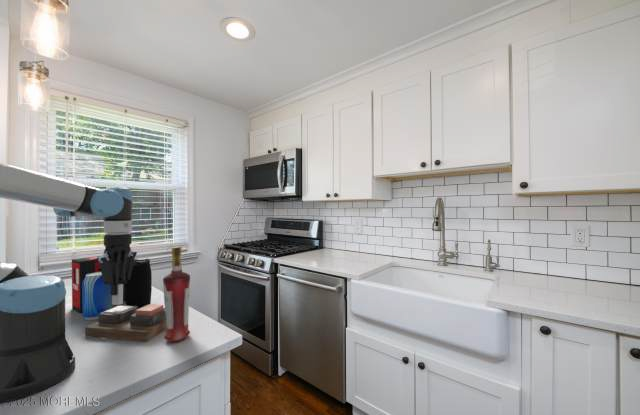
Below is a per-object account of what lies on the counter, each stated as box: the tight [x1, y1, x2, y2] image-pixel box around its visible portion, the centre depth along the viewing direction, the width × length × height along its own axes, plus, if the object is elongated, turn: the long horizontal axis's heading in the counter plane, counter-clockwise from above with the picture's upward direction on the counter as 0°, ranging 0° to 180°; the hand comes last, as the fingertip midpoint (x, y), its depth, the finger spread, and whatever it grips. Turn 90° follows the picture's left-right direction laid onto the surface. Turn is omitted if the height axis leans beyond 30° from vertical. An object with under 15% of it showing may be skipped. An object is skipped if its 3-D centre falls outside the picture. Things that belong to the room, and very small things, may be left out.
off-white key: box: [104, 305, 133, 314], centre depth 90 cm, size 5×5×2 cm
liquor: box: [162, 246, 191, 343], centre depth 82 cm, size 7×7×28 cm
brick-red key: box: [136, 303, 164, 316], centre depth 88 cm, size 5×5×2 cm
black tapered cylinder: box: [124, 258, 153, 309], centre depth 107 cm, size 9×9×20 cm
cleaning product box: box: [71, 255, 125, 314], centre depth 113 cm, size 16×9×20 cm, turn 148°
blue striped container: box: [82, 272, 113, 321], centre depth 100 cm, size 8×8×16 cm
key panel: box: [84, 304, 166, 343], centre depth 89 cm, size 14×22×6 cm, turn 80°
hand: (117, 303), depth 90 cm, fingers closed
